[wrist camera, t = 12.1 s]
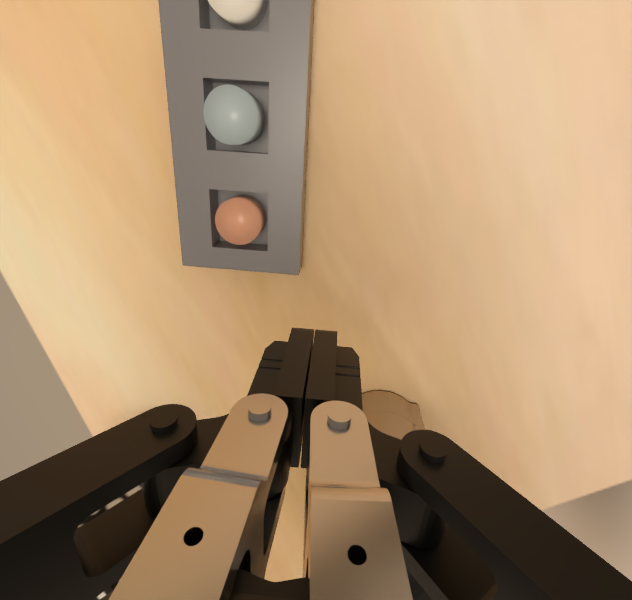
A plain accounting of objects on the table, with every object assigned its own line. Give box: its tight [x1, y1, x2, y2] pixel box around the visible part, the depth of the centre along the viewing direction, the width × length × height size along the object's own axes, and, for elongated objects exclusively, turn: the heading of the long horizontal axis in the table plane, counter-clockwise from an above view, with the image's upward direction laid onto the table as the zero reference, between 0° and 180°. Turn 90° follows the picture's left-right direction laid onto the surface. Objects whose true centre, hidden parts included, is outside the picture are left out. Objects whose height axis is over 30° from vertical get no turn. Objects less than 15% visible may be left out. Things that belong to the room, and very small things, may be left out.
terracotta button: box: [215, 194, 267, 245], centre depth 36 cm, size 4×4×3 cm
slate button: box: [203, 84, 264, 145], centre depth 31 cm, size 4×4×3 cm
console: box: [159, 0, 315, 275], centre depth 33 cm, size 12×28×3 cm, turn 176°
